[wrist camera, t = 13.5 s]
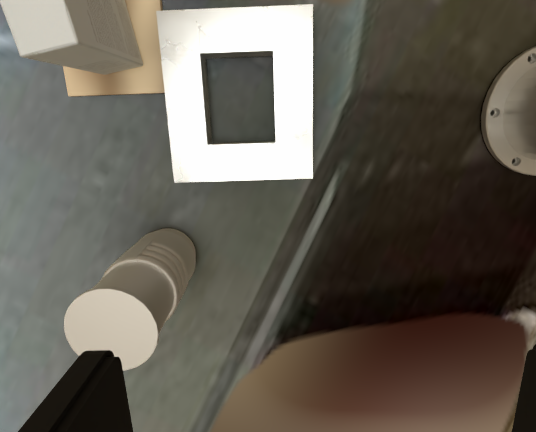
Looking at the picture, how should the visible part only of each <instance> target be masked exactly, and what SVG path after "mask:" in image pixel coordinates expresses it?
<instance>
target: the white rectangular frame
mask: <svg viewBox="0 0 536 432" xmlns="http://www.w3.org/2000/svg"><path fill="white" fill-rule="evenodd" d="M156 15H157V24H158V34H159V43H160V52H161V62H162V71H163V81H164V90H165V99H166V109H167V118H168V128H169V137H170V146H171V156H172V165H173V175H174V183H178V182H210V181H243V180H275V179H307V178H313V4H310V5H286V6H262V7H238V8H214V9H190V10H166V11H156ZM264 56H273V70H274V106H275V141H251V142H221V143H212V131H211V118H210V105H209V91H208V78H207V64H206V59H212V58H238V57H264Z"/></svg>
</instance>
